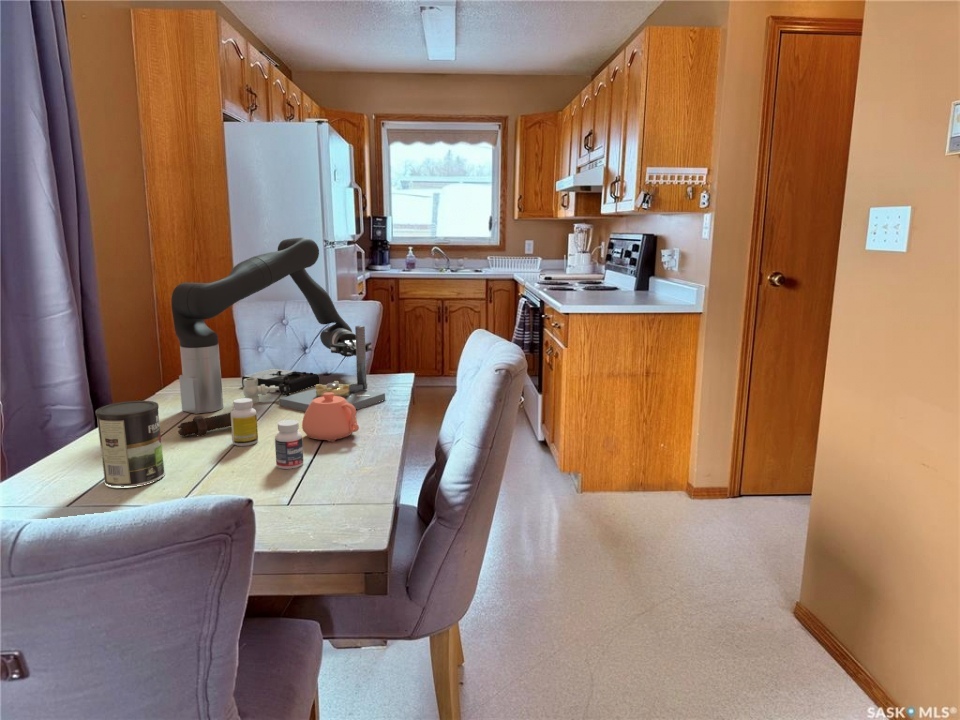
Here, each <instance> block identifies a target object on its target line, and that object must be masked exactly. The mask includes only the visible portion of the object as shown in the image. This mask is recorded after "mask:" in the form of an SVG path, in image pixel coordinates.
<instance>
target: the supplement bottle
mask: <svg viewBox="0 0 960 720" xmlns="http://www.w3.org/2000/svg"><path fill="white" fill-rule="evenodd" d="M253 405H254V403H252V399H249V398H244V397H243V398H242V397H241V398H236V399H234V400H233V401H232V407H233V410H231V411H230V412H231V426H230V429H231V441H232V442H231V443H232V445H234V446H237V447H247V446H252V445H254V444H256V443H258V441H259V433H258V418H257V417H258V416H257V411H256V409H255V408H253Z"/></svg>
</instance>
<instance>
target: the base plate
mask: <svg viewBox="0 0 960 720" xmlns="http://www.w3.org/2000/svg"><path fill="white" fill-rule="evenodd" d="M315 398H318V397H317V396H316V388H314V389H310V390H306V391H302V392H299V393H293V394H290V396H287V397H286V396H284V397H283V396H282V397H280V398H279V407H285V408H288V409H293V410H299V411H302V412H306V410H307V408H308V407H309V405H310V403H311V402H312V401H313V400H314V399H315ZM344 398H345V400H346V401H347V402H348V403H349V404H352V405H353V406H354V407H355V409H357V410H360V409H362V407H363V408H366V407H369V406H371V404H372V405H375V404H377V403H376V402H378V403H380V402H379V401H381V402H383V401H382V400H384V401H386V393H385V392H380V391H374V390H369V389H366V390H357V391H352V392H350V395H349V396H347V397H344ZM374 403H375V404H374ZM368 405H369V406H368ZM365 406H366V407H365ZM359 408H360V409H359Z"/></svg>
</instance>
